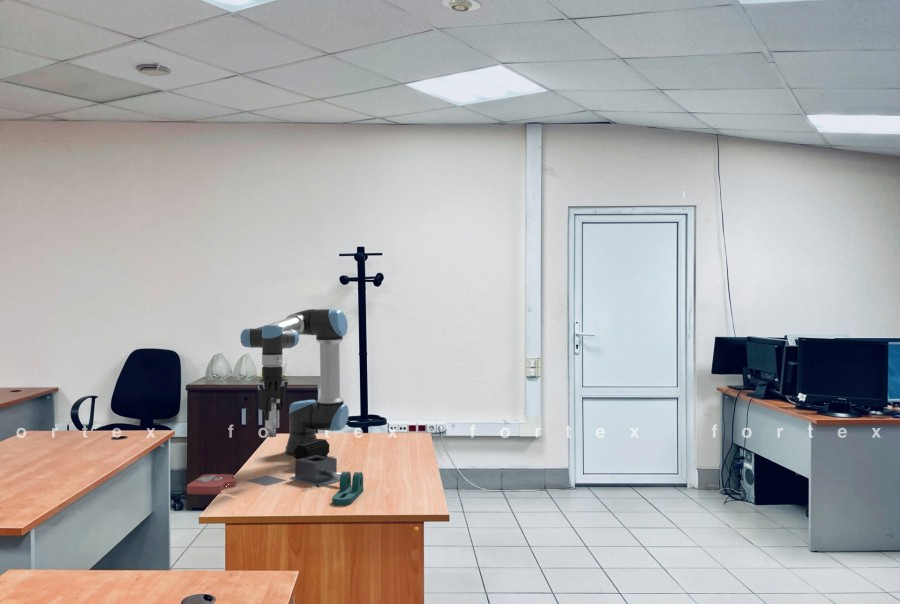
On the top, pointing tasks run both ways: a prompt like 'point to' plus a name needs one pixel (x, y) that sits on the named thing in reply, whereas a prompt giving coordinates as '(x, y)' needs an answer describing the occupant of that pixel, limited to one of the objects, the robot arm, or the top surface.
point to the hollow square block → (316, 470)
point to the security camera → (312, 449)
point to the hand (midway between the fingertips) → (272, 427)
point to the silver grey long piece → (273, 417)
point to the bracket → (348, 489)
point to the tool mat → (266, 480)
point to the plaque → (211, 484)
